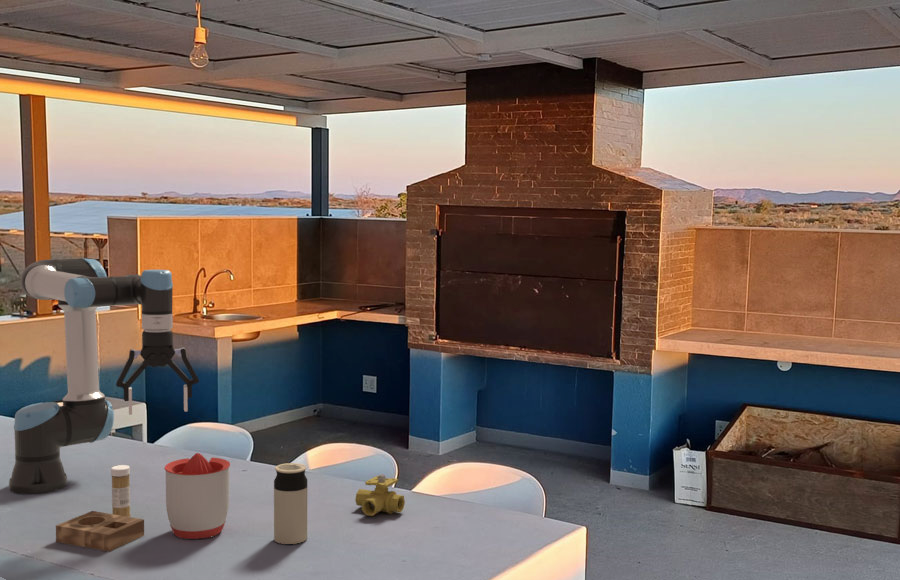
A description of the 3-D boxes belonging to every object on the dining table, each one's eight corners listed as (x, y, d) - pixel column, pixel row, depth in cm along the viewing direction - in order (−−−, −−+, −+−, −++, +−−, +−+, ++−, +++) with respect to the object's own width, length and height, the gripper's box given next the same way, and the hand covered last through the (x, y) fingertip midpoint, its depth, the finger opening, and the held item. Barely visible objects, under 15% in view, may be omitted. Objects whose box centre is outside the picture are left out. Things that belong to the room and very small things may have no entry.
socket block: (56, 541, 222) (55, 525, 222) (92, 526, 233) (92, 510, 233) (109, 551, 216) (109, 534, 216) (144, 535, 228) (144, 519, 227)
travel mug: (292, 547, 221) (292, 473, 219) (267, 541, 225) (267, 468, 223) (314, 538, 227) (314, 465, 226) (289, 531, 232) (289, 460, 230)
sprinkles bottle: (129, 514, 243) (128, 463, 242) (131, 519, 239) (130, 468, 238) (110, 516, 241) (110, 465, 240) (112, 521, 237) (112, 470, 236)
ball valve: (406, 510, 250) (407, 474, 249) (388, 522, 240) (389, 484, 240) (365, 504, 255) (366, 468, 254) (346, 514, 246) (346, 477, 245)
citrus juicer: (232, 518, 241) (232, 442, 239) (228, 541, 224) (228, 460, 222) (170, 520, 238) (169, 444, 237) (161, 544, 221) (160, 462, 220)
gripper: (105, 333, 231) (106, 417, 232) (208, 330, 239) (209, 412, 241) (105, 329, 238) (107, 411, 239) (206, 327, 246) (206, 406, 248)
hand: (158, 412), depth 240 cm, fingers open, 13 cm apart
